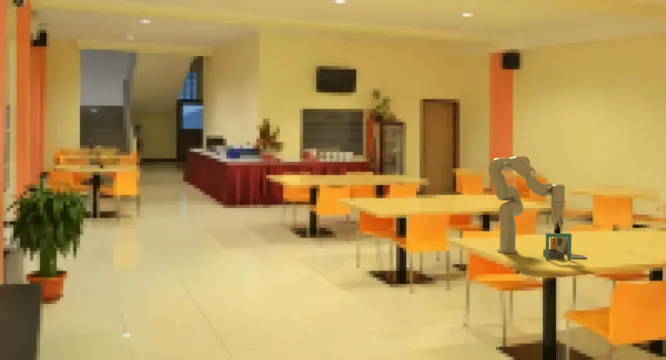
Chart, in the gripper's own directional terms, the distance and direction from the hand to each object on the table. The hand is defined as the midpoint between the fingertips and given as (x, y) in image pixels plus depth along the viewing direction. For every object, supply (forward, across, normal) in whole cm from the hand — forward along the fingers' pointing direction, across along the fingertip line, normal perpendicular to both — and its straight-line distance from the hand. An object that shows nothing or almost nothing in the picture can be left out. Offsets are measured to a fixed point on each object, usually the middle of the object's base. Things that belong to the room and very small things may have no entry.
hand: (557, 235), depth 413 cm
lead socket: (+14, -6, 0) cm, 15 cm away
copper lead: (+14, -6, 0) cm, 15 cm away
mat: (+14, -6, +14) cm, 21 cm away
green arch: (+14, +3, 0) cm, 15 cm away
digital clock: (+14, -25, +10) cm, 31 cm away
